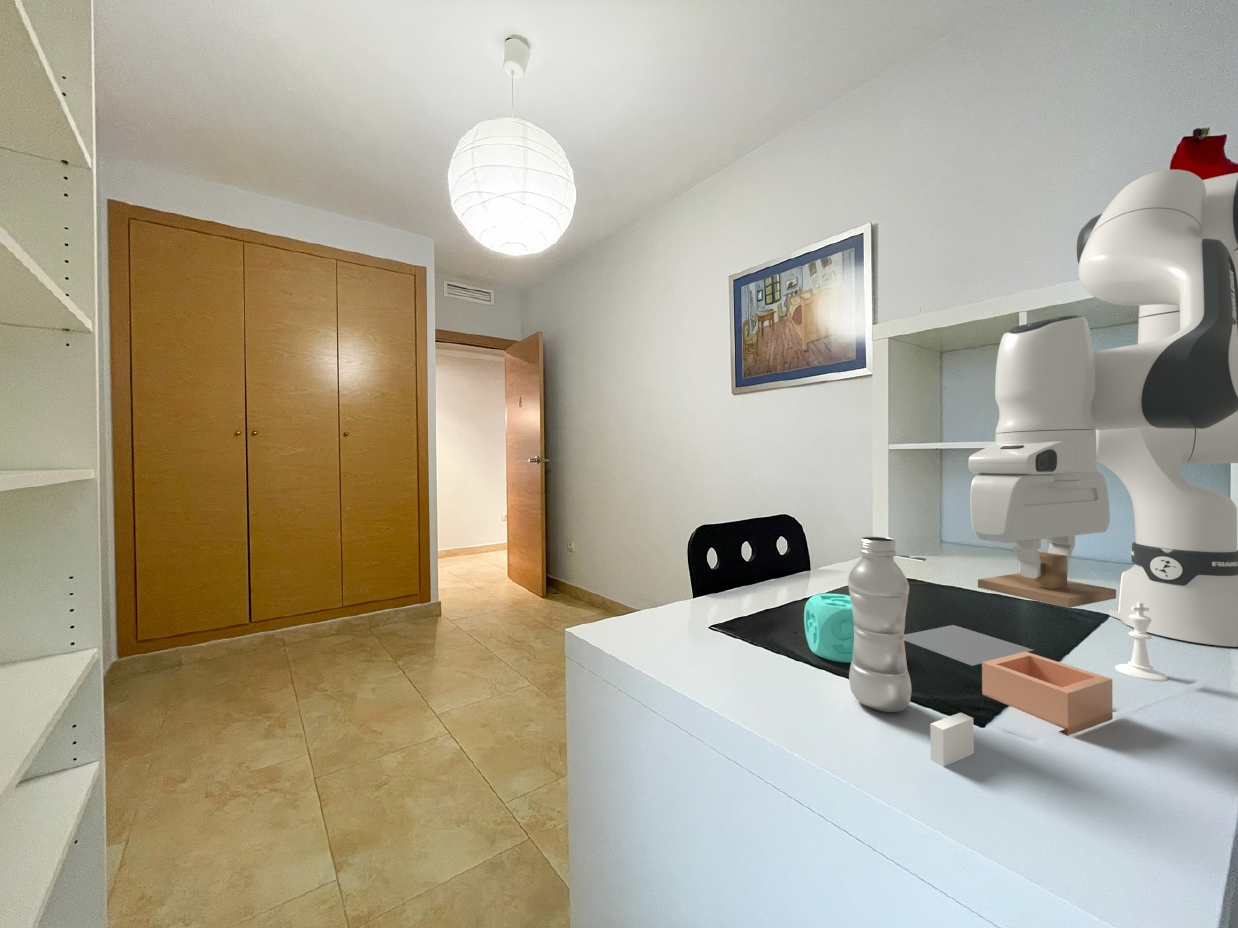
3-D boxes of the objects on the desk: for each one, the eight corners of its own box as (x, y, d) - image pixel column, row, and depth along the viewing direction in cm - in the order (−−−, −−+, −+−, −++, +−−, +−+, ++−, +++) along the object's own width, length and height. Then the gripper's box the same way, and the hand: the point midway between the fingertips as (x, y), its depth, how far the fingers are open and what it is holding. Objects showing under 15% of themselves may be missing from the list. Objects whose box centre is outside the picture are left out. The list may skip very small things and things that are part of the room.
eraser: (930, 760, 47) (930, 723, 47) (960, 747, 49) (960, 712, 49) (943, 767, 46) (943, 729, 46) (973, 754, 48) (973, 717, 48)
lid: (1023, 580, 62) (1023, 545, 62) (1116, 598, 54) (1115, 558, 54) (977, 587, 59) (977, 550, 59) (1068, 607, 50) (1068, 565, 50)
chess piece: (1180, 687, 61) (1179, 608, 61) (1134, 684, 62) (1133, 607, 62) (1146, 670, 66) (1145, 598, 66) (1104, 667, 67) (1103, 596, 67)
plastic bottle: (889, 725, 53) (888, 545, 53) (836, 699, 59) (835, 537, 59) (924, 711, 56) (922, 540, 56) (870, 687, 62) (869, 533, 62)
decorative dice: (855, 643, 77) (854, 593, 77) (877, 664, 69) (876, 608, 69) (804, 641, 78) (803, 592, 78) (819, 662, 70) (819, 607, 70)
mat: (953, 628, 83) (953, 624, 83) (1034, 653, 72) (1034, 649, 72) (894, 640, 78) (894, 636, 78) (972, 669, 67) (972, 665, 67)
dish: (1025, 686, 62) (1025, 651, 62) (1112, 718, 54) (1112, 678, 54) (982, 698, 59) (982, 662, 59) (1067, 735, 51) (1067, 693, 51)
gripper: (1063, 457, 63) (1063, 562, 63) (957, 458, 55) (958, 577, 56) (1128, 456, 57) (1128, 572, 57) (1020, 457, 50) (1021, 591, 50)
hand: (1044, 575), depth 56 cm, fingers closed on lid, 3 cm apart
